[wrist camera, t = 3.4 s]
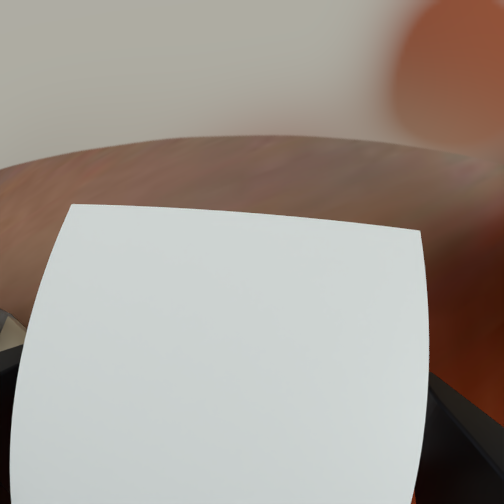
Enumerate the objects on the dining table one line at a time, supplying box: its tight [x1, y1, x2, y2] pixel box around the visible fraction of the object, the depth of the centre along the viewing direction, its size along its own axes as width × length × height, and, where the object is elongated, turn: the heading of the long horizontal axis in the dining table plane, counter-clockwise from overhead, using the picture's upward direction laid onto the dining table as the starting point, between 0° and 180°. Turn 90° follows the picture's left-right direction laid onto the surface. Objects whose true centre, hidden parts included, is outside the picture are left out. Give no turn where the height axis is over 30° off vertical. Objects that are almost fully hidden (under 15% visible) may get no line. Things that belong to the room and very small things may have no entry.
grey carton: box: [10, 204, 429, 504], centre depth 8 cm, size 5×4×12 cm
